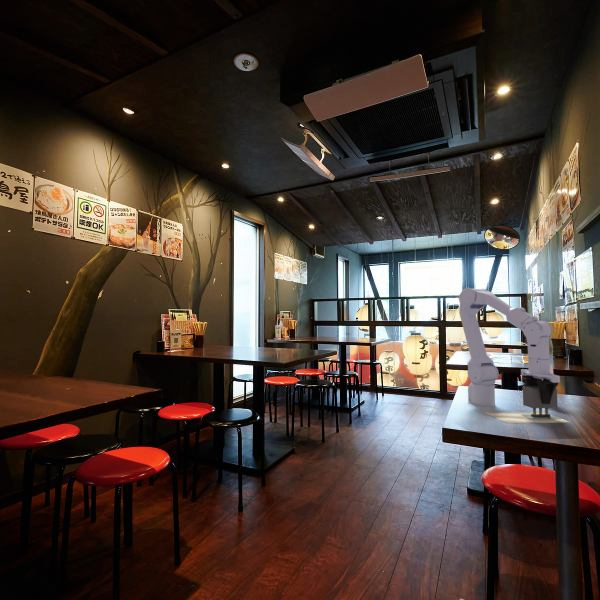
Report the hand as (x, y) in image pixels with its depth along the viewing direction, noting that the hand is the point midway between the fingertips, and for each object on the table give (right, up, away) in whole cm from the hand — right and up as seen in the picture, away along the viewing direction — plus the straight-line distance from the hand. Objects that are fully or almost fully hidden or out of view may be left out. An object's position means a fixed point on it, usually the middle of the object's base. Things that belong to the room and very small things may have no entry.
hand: (540, 401), depth 113 cm
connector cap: (0, -1, 0) cm, 1 cm away
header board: (-5, -6, -1) cm, 8 cm away
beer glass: (+19, -8, +26) cm, 33 cm away
